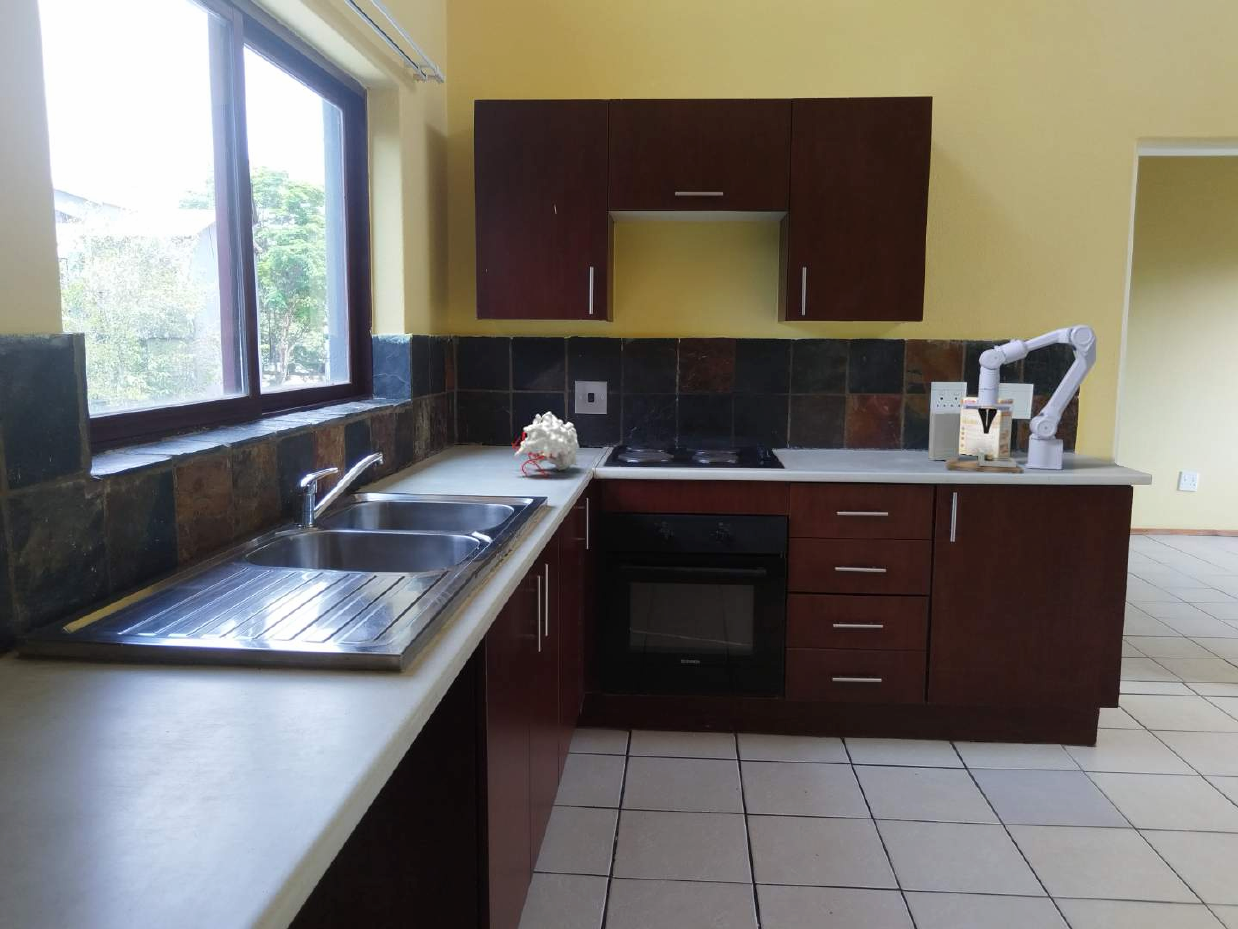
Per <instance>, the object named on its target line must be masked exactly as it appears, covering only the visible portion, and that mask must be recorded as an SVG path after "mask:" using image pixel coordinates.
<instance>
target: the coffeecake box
mask: <svg viewBox="0 0 1238 929" xmlns="http://www.w3.org/2000/svg"><path fill="white" fill-rule="evenodd" d="M963 403H978V396H965V397H963V396H962V397H961V403H960V404H961V405H960V432H959V455H961V454H966V455H965V456H969V455H972V456H971V457H977V456H978V450H979V448H983V450H984V452H985V455H993V457H1005V458H1011V456H1010V454H1011V452H1010V451H1011V436H1012V422H1013V411H1009V410H997V414H996V416H995V417H994V419H993V421H992V424H991V426H990V429H989V434H984V433H983V424H982V421H981V418H980V415H979V412H978V410H977V409H962V405H963ZM998 403H999V404H1014V399H1013V398H1000V397H998ZM977 408H978V407H977ZM981 408H994V407H981ZM987 415H988V410H987ZM986 427H987V421H986Z"/></svg>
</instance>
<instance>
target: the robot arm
mask: <svg viewBox="0 0 1238 929" xmlns="http://www.w3.org/2000/svg"><path fill="white" fill-rule="evenodd" d="M1009 341H1010V342H1008V343H1004V344H1002V345H1000V346H998V345H994V347H993V348H994V349H993V348H992V349H987V350H985V351H983V352H982V353H981V355H980V357H979V360H978V362H979V365H980V370H979V371H980V374H979V382H978V396H977V397H978V403H963V405H962V409H977V410H978V412H979V415H980V418H981V421H982V424H983V433H984V434H989V429H990V426H991V424H992V421H993V419H994V417H995V416H996V414H997V410H1009V411H1012V412H1014V408H1015V406H1014V405H1015V404H1014V403H1013V404H999V403H998V398H999V397H1000V396H999V395H1000V394H999V393H1000V390H999V389H1000V379H1001V378H1000V377H1001V374H1000V367H1001V365H1006V364H1009V363H1012V362H1015V361H1018V360H1021V359H1024V358H1026V357H1027V355H1028V353H1029V352H1030V351H1034V350H1037V349H1040V348H1044V347H1046V346H1049V345H1053V344H1057V343H1059V344H1067V345H1068V346H1069V347H1070V348H1071V350H1072V352H1073V355H1074V359H1075V360H1074V362H1073V363H1072V365H1071V367H1070V368H1069V369H1068V371H1067V373H1066V374H1065V375H1064V377H1063V379H1062V381H1061V382H1060V384H1059V385H1058V387H1057V388H1056V390H1055V392H1054V393H1053V394H1052V396H1051V398H1050V399H1049V400H1048V402H1047V404H1046V405H1045V406H1044V407H1043V408H1042V409H1041V410H1040V412H1039V413H1038V414H1037V415H1036V416H1034V417H1033V418H1032V419H1031V420H1030V422H1029V430H1030V431H1031V434H1030V435H1029V438H1028V439H1029V440H1028V452H1027V462H1026V463H1024V465H1025V467H1026V468H1027V469H1040V470H1041V469H1042V470H1043V469H1045V470H1062V466H1063V454H1064V440H1063V439H1059V438H1058V439H1057V437H1056V436H1055V434H1056V433H1057V431H1058V424H1059V422H1060V421H1061V419H1062V415H1063V413H1064V411H1065V409H1066V408H1067V406H1068V405H1069V403H1070V401H1071V400H1072V399H1073V397H1074V396H1075V394H1076V392H1077V391H1078V390H1079V387H1080V386H1081V385H1082V383H1083V381H1084V380H1085V379H1086V376H1087V375H1088V374H1089V373H1090V370H1091V369H1092V368H1093V366H1094V364H1095V363H1096V361H1097V341H1098V340H1097V336H1096V333H1095V331H1094V329H1093V328H1092V327H1091V326H1089V325H1087V324H1079V325H1078V324H1077V325H1072V326H1070V327H1069V326H1067V327H1063V328H1058V329H1054V330H1053V331H1049V332H1047V333H1045V334H1042V335H1039V336H1037V337H1034V338H1032V339H1028V340H1026V341H1023V340H1021V339H1015V338H1012V339H1010V340H1009ZM977 407H978V408H977ZM981 407H994V408H981ZM987 410H988V415H987ZM986 421H987V427H986Z"/></svg>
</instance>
